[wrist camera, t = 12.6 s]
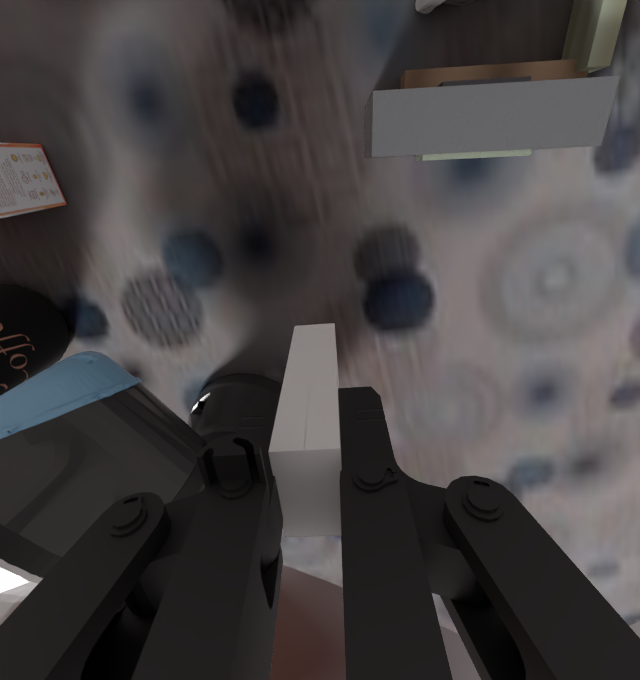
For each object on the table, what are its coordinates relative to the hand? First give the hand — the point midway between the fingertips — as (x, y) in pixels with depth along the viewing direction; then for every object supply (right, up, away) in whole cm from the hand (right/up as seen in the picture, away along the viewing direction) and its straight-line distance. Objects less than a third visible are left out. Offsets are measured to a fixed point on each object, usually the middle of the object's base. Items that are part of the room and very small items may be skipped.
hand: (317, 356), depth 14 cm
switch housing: (+12, +20, +18) cm, 29 cm away
